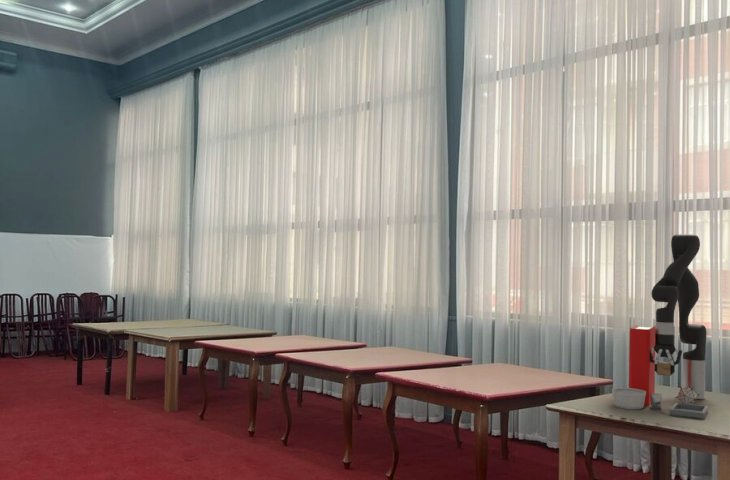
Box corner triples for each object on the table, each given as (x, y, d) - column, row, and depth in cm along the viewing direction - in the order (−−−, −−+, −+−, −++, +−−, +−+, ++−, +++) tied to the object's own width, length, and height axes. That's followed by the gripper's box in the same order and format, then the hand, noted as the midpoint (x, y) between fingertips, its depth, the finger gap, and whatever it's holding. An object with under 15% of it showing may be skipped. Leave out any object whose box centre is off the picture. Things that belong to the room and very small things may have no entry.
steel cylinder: (651, 407, 296) (651, 392, 296) (661, 408, 294) (662, 393, 294) (649, 408, 292) (650, 393, 292) (660, 409, 290) (660, 395, 290)
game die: (691, 415, 301) (703, 398, 295) (672, 406, 302) (682, 390, 297) (691, 401, 308) (702, 385, 303) (672, 393, 310) (682, 377, 304)
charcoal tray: (675, 408, 294) (676, 402, 294) (708, 412, 288) (708, 406, 288) (669, 415, 278) (669, 409, 278) (703, 419, 272) (703, 413, 272)
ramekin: (633, 411, 285) (633, 394, 286) (605, 405, 296) (605, 389, 296) (652, 408, 293) (652, 391, 293) (624, 403, 304) (624, 386, 304)
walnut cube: (659, 373, 303) (659, 361, 303) (671, 374, 300) (671, 362, 300) (657, 374, 299) (657, 362, 299) (670, 375, 296) (670, 363, 296)
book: (635, 395, 326) (636, 324, 327) (654, 397, 322) (655, 326, 323) (628, 404, 301) (629, 328, 303) (648, 406, 298) (649, 329, 299)
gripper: (684, 333, 300) (684, 374, 299) (648, 331, 307) (647, 370, 306) (682, 334, 293) (681, 376, 293) (645, 332, 300) (644, 372, 300)
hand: (664, 373), depth 299 cm, fingers closed on walnut cube, 5 cm apart
